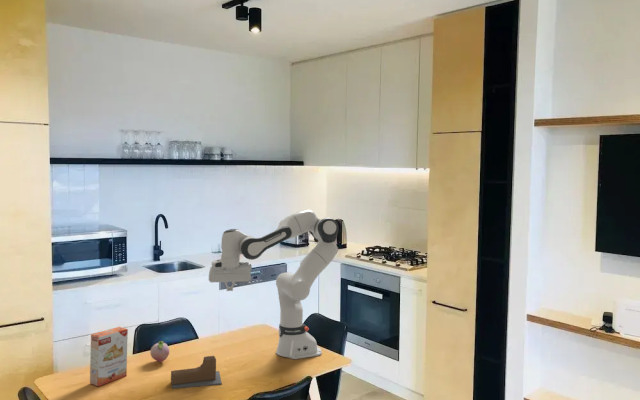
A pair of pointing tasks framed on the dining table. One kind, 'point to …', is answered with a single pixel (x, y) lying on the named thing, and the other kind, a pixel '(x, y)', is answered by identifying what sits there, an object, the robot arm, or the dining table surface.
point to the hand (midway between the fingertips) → (229, 290)
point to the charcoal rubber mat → (200, 383)
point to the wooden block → (196, 372)
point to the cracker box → (108, 356)
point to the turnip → (159, 351)
